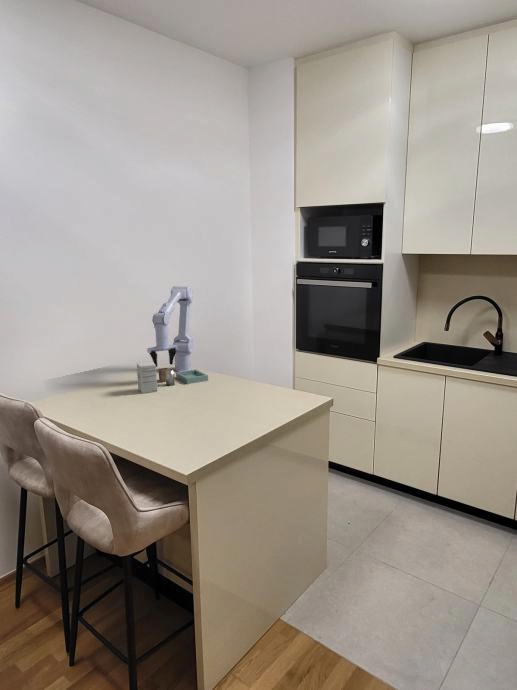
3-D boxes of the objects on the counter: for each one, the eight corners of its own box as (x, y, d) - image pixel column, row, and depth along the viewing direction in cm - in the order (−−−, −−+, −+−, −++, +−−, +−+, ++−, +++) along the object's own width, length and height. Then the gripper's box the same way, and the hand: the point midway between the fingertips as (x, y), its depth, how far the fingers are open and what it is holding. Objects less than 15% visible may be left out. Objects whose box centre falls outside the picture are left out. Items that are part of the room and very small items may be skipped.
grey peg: (165, 384, 225) (164, 370, 224) (172, 383, 227) (172, 369, 226) (168, 386, 222) (167, 372, 220) (176, 385, 224) (175, 370, 222)
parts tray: (176, 377, 237) (175, 372, 236) (196, 374, 242) (196, 369, 242) (187, 384, 225) (186, 378, 225) (208, 380, 231) (208, 375, 230)
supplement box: (138, 389, 218) (136, 362, 215) (154, 387, 221) (152, 361, 218) (141, 393, 211) (139, 366, 209) (157, 391, 214) (156, 364, 212)
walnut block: (159, 380, 232) (158, 368, 231) (167, 379, 234) (166, 367, 233) (162, 382, 228) (161, 370, 227) (169, 381, 231) (169, 369, 229)
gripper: (150, 340, 220) (151, 369, 223) (179, 337, 227) (180, 364, 230) (145, 338, 226) (147, 366, 228) (173, 335, 233) (175, 362, 236)
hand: (163, 365), depth 230 cm, fingers open, 7 cm apart
